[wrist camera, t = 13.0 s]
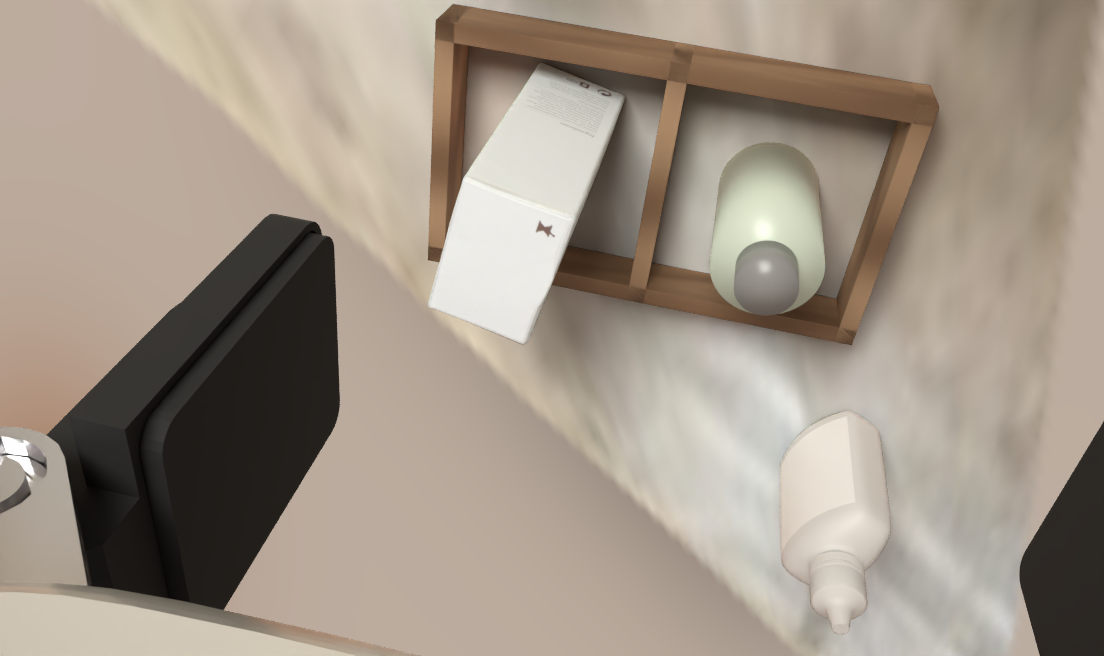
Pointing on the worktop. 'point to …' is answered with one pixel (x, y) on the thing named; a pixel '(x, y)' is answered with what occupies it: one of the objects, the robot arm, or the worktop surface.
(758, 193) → the sage bottle
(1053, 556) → the robot arm
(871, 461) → the eye dropper bottle
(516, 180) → the skincare box
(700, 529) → the worktop surface
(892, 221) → the wooden frame
